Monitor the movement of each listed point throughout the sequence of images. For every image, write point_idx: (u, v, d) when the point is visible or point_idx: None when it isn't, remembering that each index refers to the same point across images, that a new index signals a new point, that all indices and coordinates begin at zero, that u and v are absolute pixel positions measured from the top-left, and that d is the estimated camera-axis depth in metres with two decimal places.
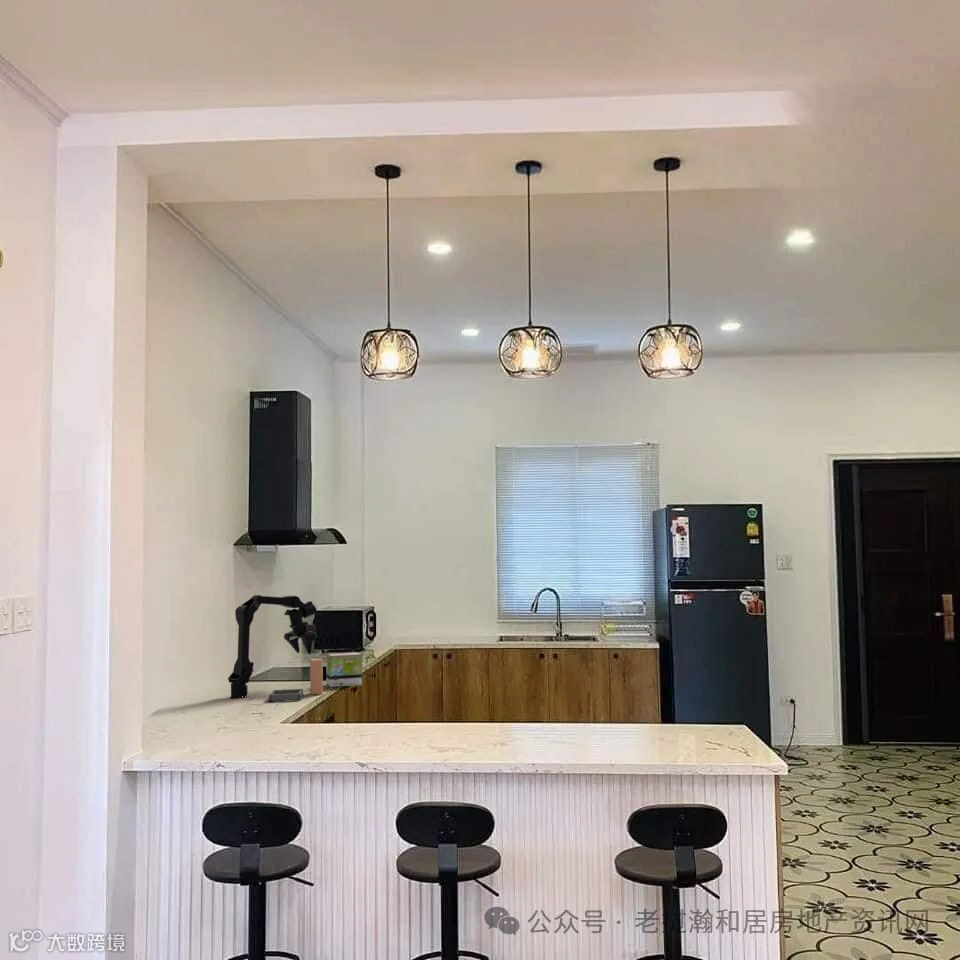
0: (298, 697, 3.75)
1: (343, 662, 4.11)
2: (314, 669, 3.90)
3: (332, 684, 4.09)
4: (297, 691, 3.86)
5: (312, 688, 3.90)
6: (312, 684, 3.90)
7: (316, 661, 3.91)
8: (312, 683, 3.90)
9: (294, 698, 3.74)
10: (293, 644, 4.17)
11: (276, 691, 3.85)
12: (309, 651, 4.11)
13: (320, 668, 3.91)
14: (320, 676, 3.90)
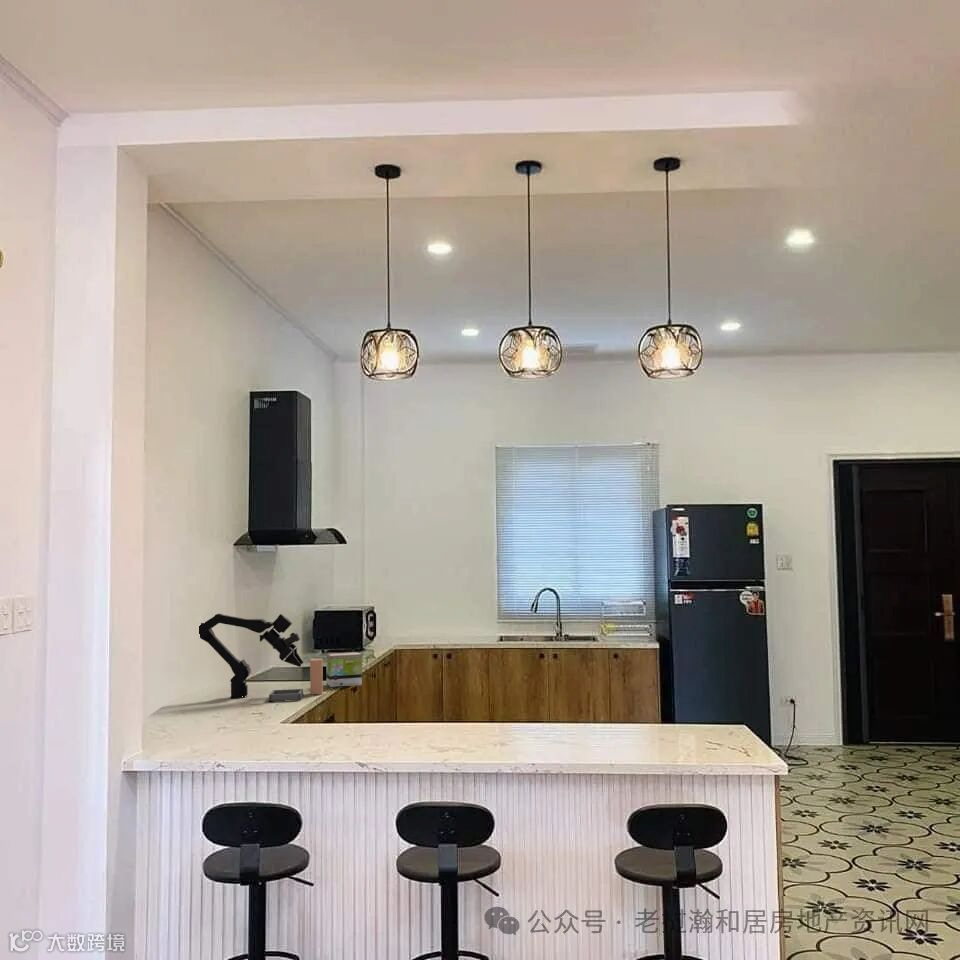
0: (298, 697, 3.75)
1: (343, 662, 4.11)
2: (314, 669, 3.90)
3: (332, 684, 4.09)
4: (297, 691, 3.86)
5: (312, 688, 3.90)
6: (312, 684, 3.90)
7: (316, 661, 3.91)
8: (312, 683, 3.90)
9: (294, 698, 3.74)
10: None
11: (276, 691, 3.85)
12: (297, 664, 3.88)
13: (320, 668, 3.91)
14: (320, 676, 3.90)
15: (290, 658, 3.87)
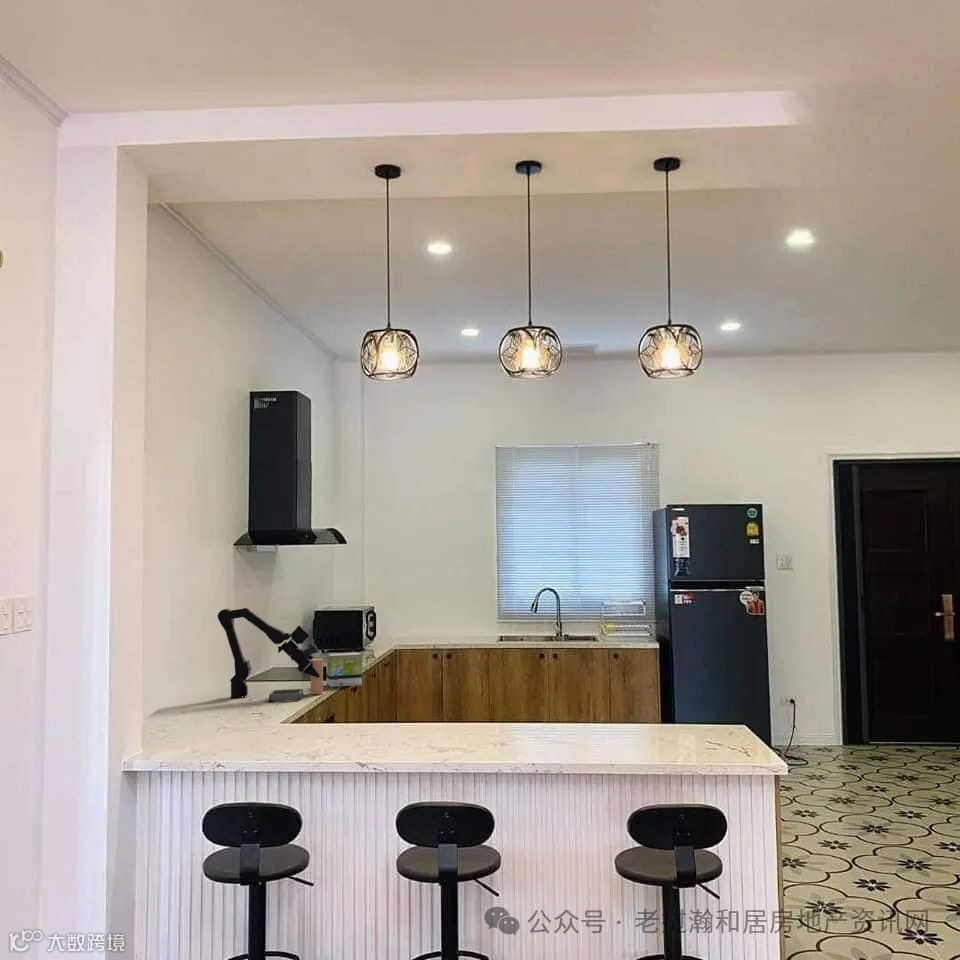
0: (298, 697, 3.75)
1: (343, 662, 4.11)
2: None
3: (332, 684, 4.09)
4: (297, 691, 3.86)
5: (312, 688, 3.90)
6: (312, 684, 3.90)
7: (316, 661, 3.91)
8: (313, 682, 3.90)
9: (294, 698, 3.74)
10: None
11: (276, 691, 3.85)
12: (316, 675, 3.89)
13: (320, 668, 3.91)
14: (320, 676, 3.90)
15: (309, 669, 3.89)
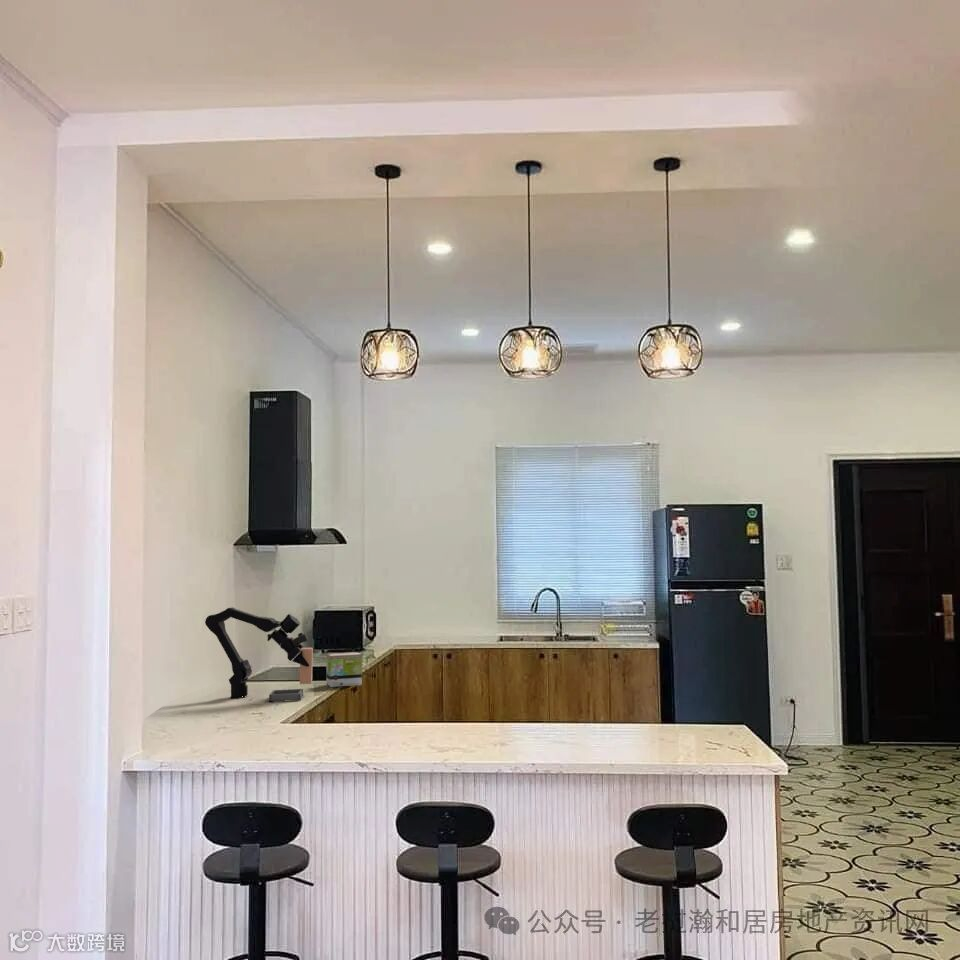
0: (298, 697, 3.75)
1: (343, 662, 4.11)
2: None
3: (332, 684, 4.09)
4: (297, 691, 3.86)
5: (301, 677, 3.86)
6: (301, 673, 3.86)
7: (306, 650, 3.87)
8: (302, 672, 3.86)
9: (294, 698, 3.74)
10: None
11: (276, 691, 3.85)
12: (306, 664, 3.86)
13: (310, 657, 3.87)
14: (310, 665, 3.87)
15: (298, 658, 3.85)
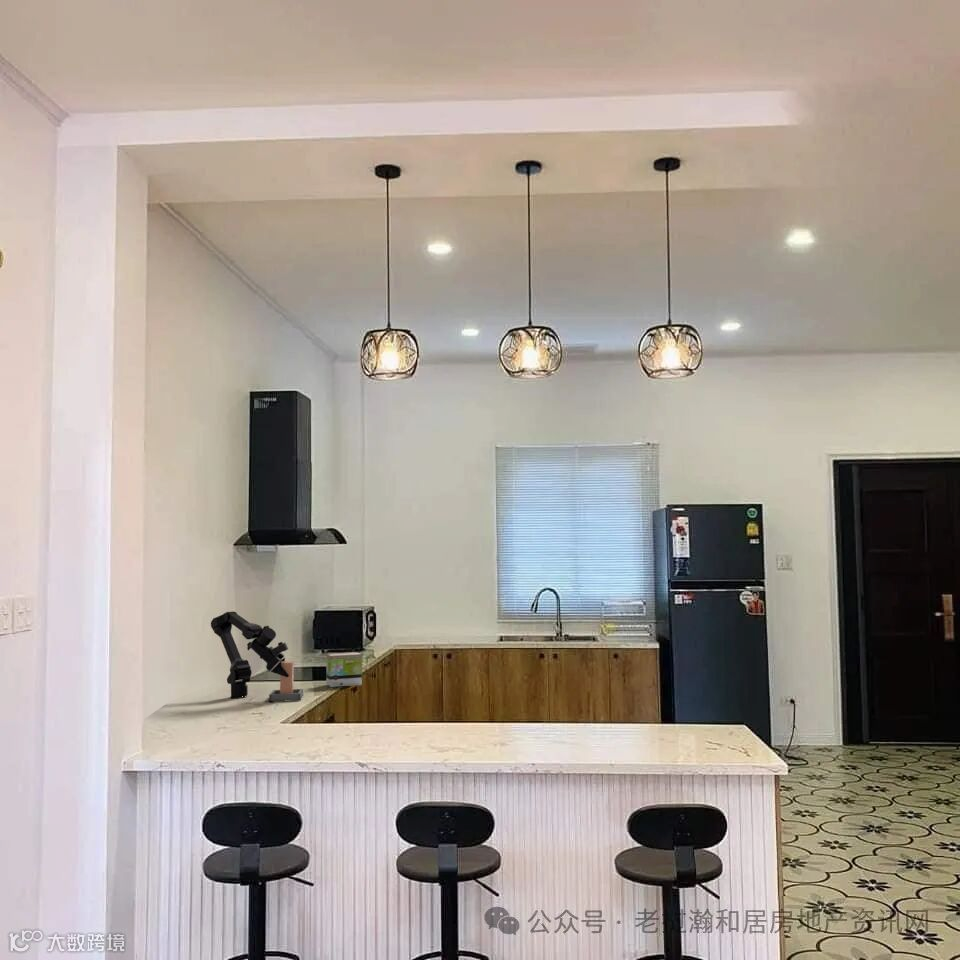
0: (298, 697, 3.75)
1: (343, 662, 4.11)
2: None
3: (332, 684, 4.09)
4: (297, 691, 3.86)
5: (282, 692, 3.77)
6: (282, 687, 3.78)
7: (287, 664, 3.79)
8: (282, 686, 3.78)
9: (294, 698, 3.74)
10: None
11: (276, 691, 3.85)
12: (285, 675, 3.76)
13: (291, 671, 3.79)
14: (290, 679, 3.78)
15: (277, 668, 3.75)
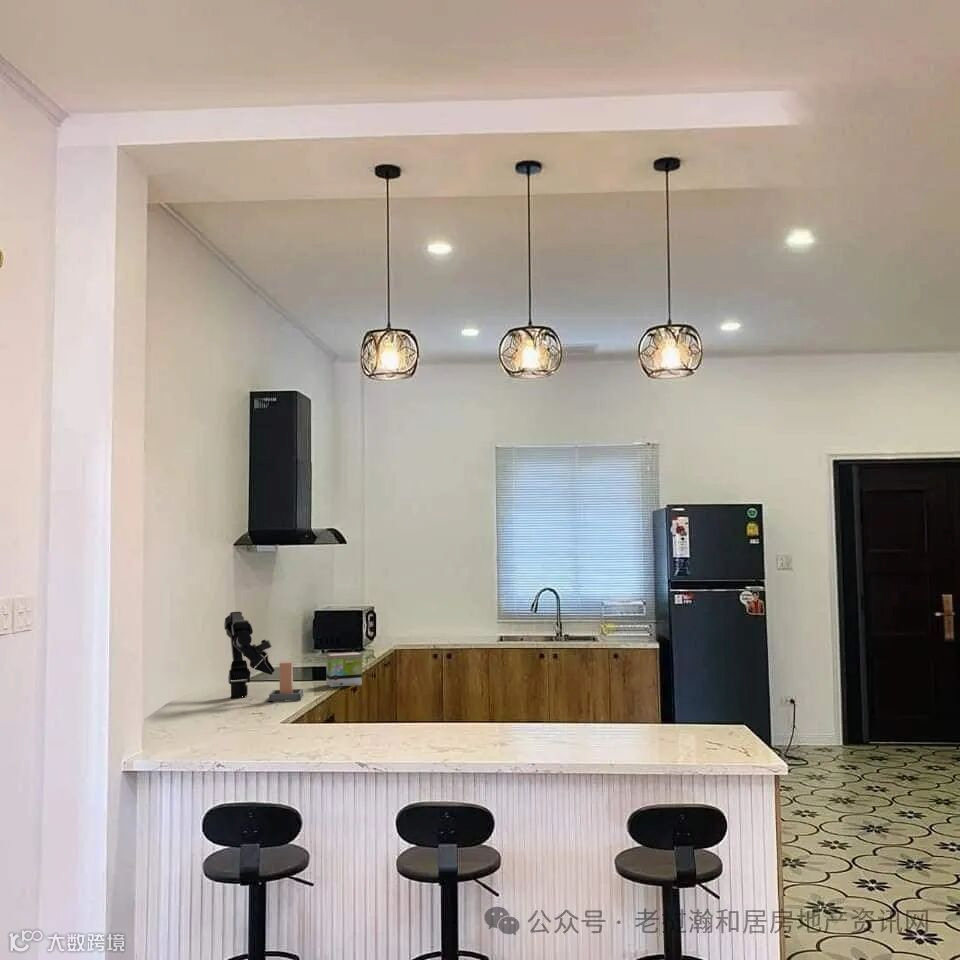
0: (298, 697, 3.75)
1: (343, 662, 4.11)
2: (283, 673, 3.78)
3: (332, 684, 4.09)
4: (297, 691, 3.86)
5: (281, 692, 3.77)
6: (281, 687, 3.78)
7: (286, 664, 3.79)
8: (282, 686, 3.78)
9: (294, 698, 3.74)
10: None
11: (276, 691, 3.85)
12: (269, 672, 3.76)
13: (290, 671, 3.79)
14: (290, 679, 3.78)
15: (261, 666, 3.75)
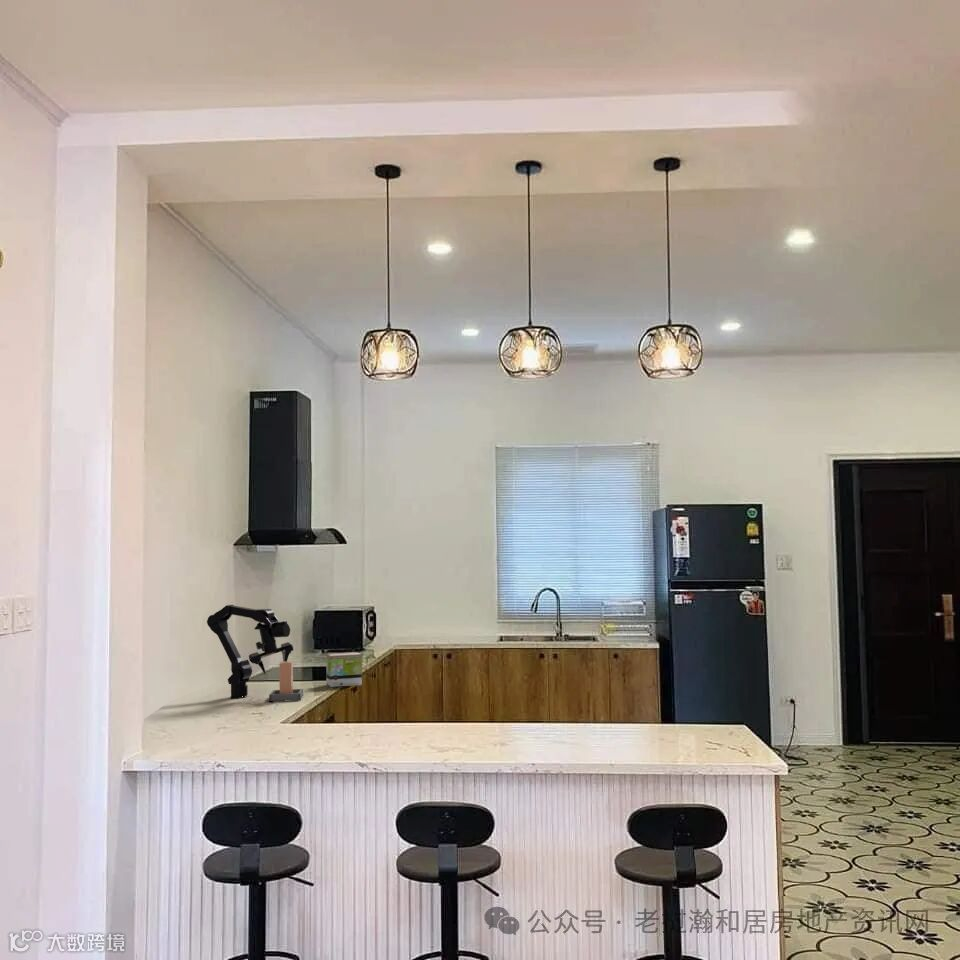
0: (298, 697, 3.75)
1: (343, 662, 4.11)
2: (283, 673, 3.78)
3: (332, 684, 4.09)
4: (297, 691, 3.86)
5: (281, 692, 3.77)
6: (281, 688, 3.78)
7: (286, 664, 3.78)
8: (282, 686, 3.78)
9: (294, 698, 3.74)
10: (263, 665, 3.86)
11: (276, 691, 3.85)
12: None
13: (290, 671, 3.78)
14: (290, 679, 3.78)
15: None
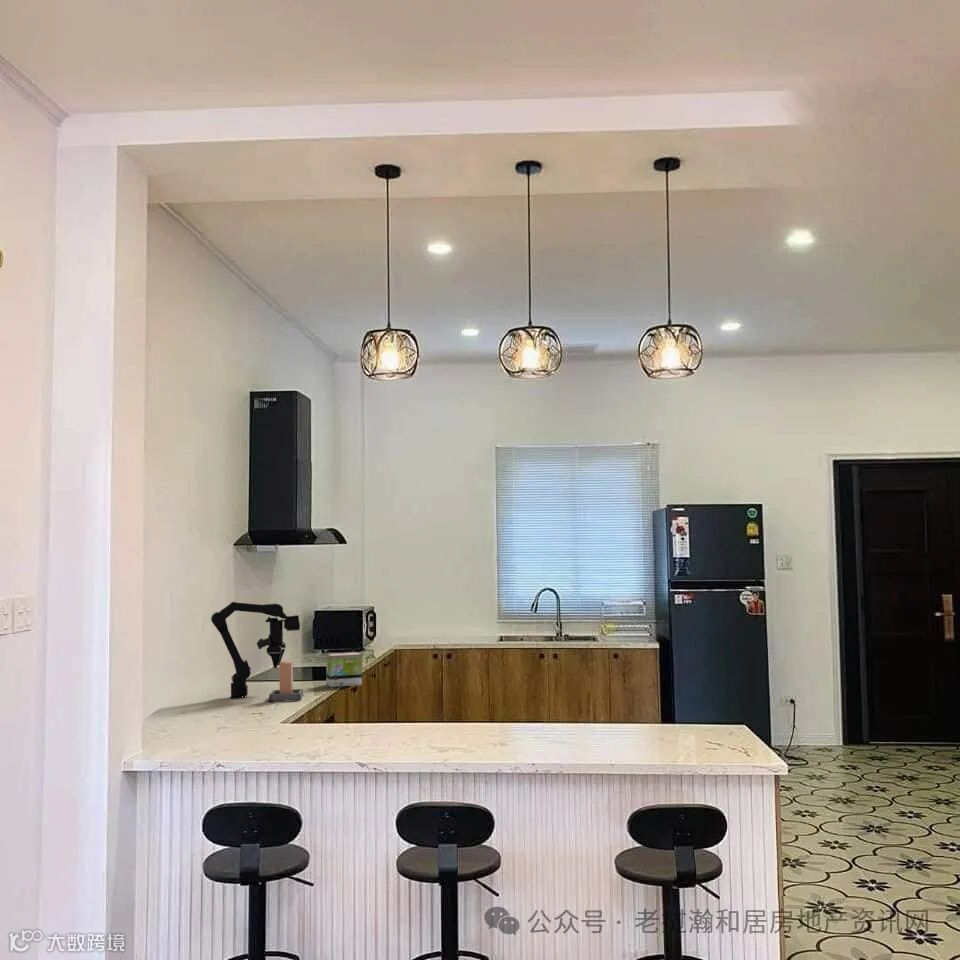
0: (298, 697, 3.75)
1: (343, 662, 4.11)
2: (283, 673, 3.78)
3: (332, 684, 4.09)
4: (297, 691, 3.86)
5: (281, 692, 3.77)
6: (281, 688, 3.78)
7: (286, 664, 3.79)
8: (282, 686, 3.78)
9: (294, 698, 3.74)
10: None
11: (276, 691, 3.85)
12: None
13: (290, 671, 3.79)
14: (290, 679, 3.78)
15: None
